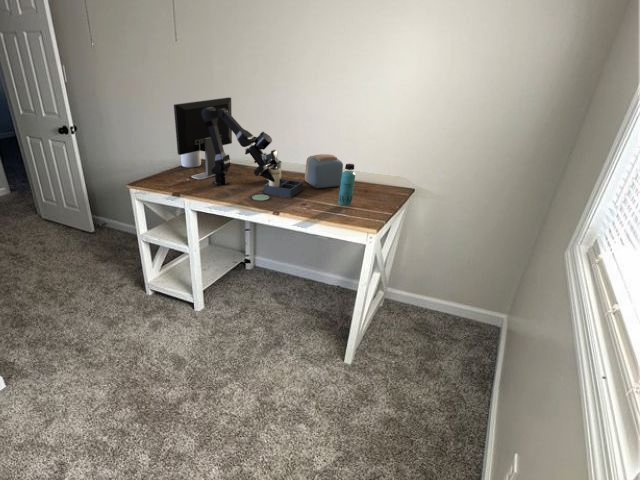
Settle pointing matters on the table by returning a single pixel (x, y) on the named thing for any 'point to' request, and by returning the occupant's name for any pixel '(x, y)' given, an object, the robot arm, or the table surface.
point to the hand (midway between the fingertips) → (276, 180)
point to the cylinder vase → (191, 159)
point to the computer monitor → (200, 130)
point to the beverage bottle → (347, 186)
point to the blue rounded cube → (323, 171)
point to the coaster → (260, 197)
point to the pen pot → (275, 176)
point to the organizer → (284, 188)
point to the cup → (279, 167)
